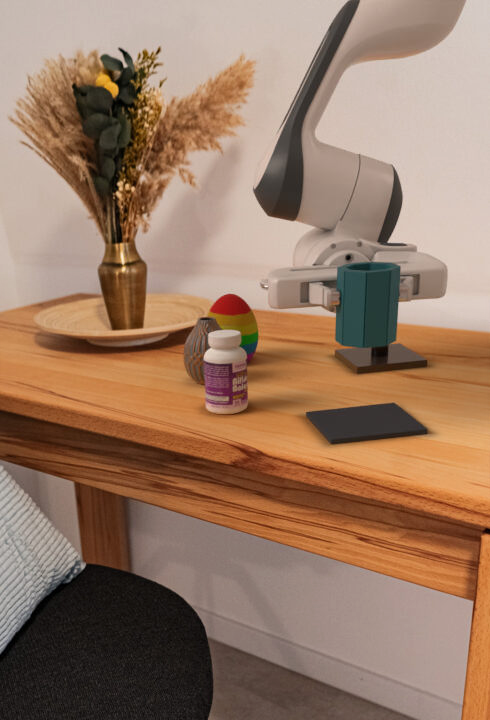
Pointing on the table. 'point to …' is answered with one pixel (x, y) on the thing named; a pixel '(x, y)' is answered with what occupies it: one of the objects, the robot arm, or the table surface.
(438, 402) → the table surface
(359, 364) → the post
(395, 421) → the felt pad
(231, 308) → the decorative egg
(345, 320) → the teal octagonal cup
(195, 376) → the vase
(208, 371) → the pill bottle
